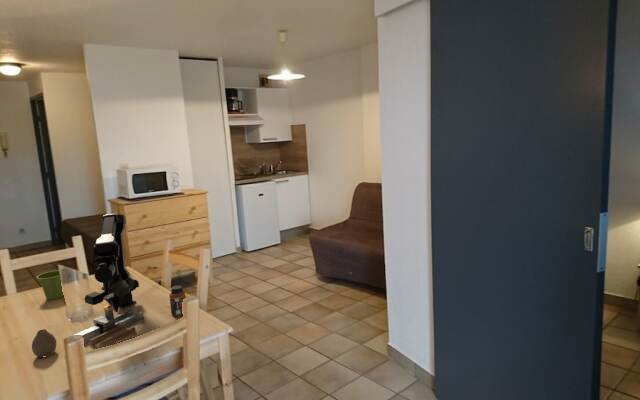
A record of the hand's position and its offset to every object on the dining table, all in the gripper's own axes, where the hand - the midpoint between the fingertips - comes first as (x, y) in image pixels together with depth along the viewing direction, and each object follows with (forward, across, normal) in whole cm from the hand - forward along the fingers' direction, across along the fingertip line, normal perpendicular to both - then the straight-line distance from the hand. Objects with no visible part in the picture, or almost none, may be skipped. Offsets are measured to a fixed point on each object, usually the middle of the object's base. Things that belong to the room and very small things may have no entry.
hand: (116, 311), depth 157 cm
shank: (+6, -13, 0) cm, 14 cm away
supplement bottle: (+6, +17, -14) cm, 23 cm away
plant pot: (+6, +5, +56) cm, 57 cm away
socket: (+6, 0, 0) cm, 6 cm away
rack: (+5, -8, -9) cm, 13 cm away
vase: (+5, -24, +3) cm, 25 cm away
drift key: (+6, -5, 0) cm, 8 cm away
